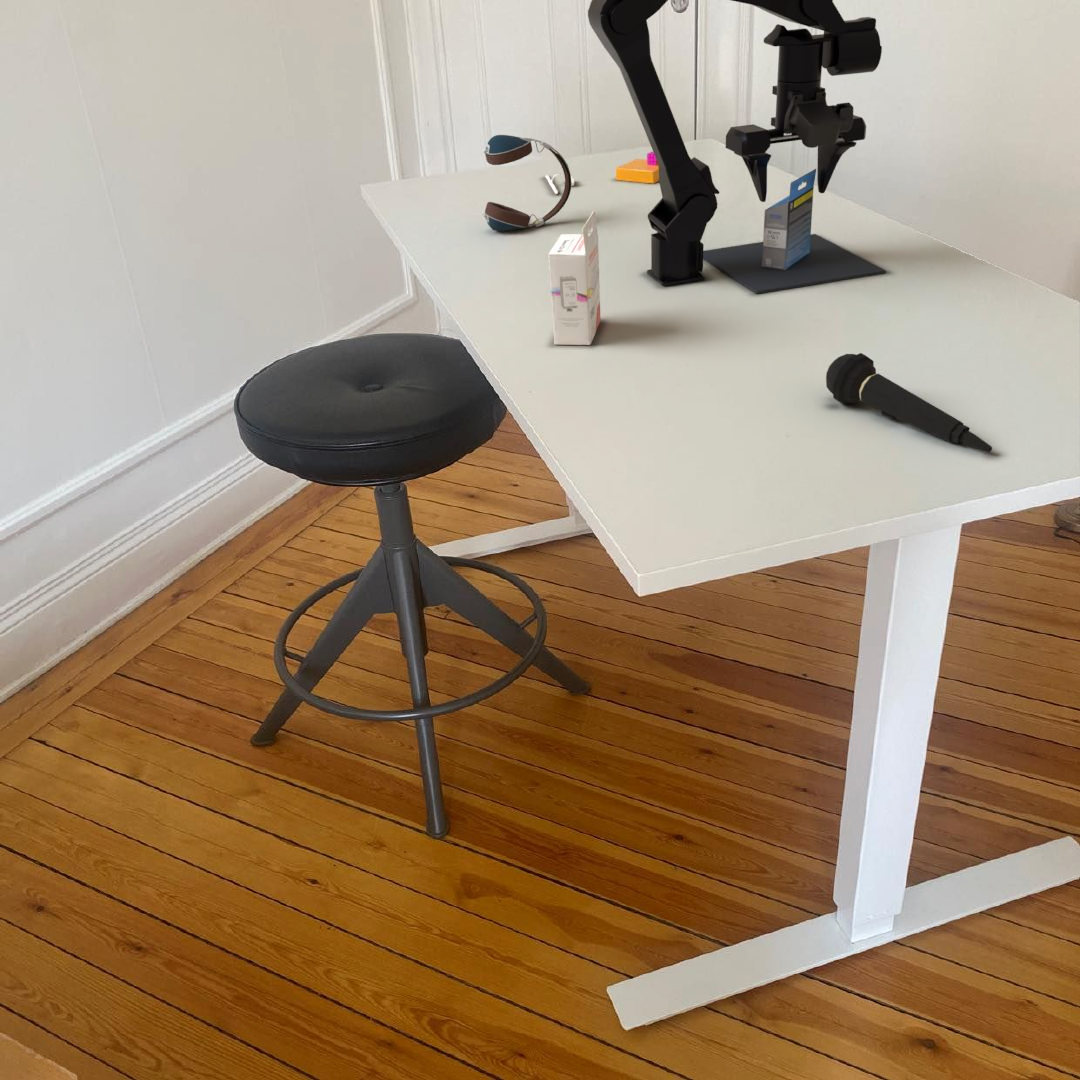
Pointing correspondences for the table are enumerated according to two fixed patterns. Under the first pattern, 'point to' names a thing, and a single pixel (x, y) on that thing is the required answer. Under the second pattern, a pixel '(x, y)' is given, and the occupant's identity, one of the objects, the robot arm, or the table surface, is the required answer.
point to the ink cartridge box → (575, 286)
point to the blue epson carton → (789, 226)
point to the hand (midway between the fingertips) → (792, 197)
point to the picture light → (554, 185)
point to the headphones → (511, 150)
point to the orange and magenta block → (640, 170)
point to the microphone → (893, 400)
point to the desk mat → (811, 269)
